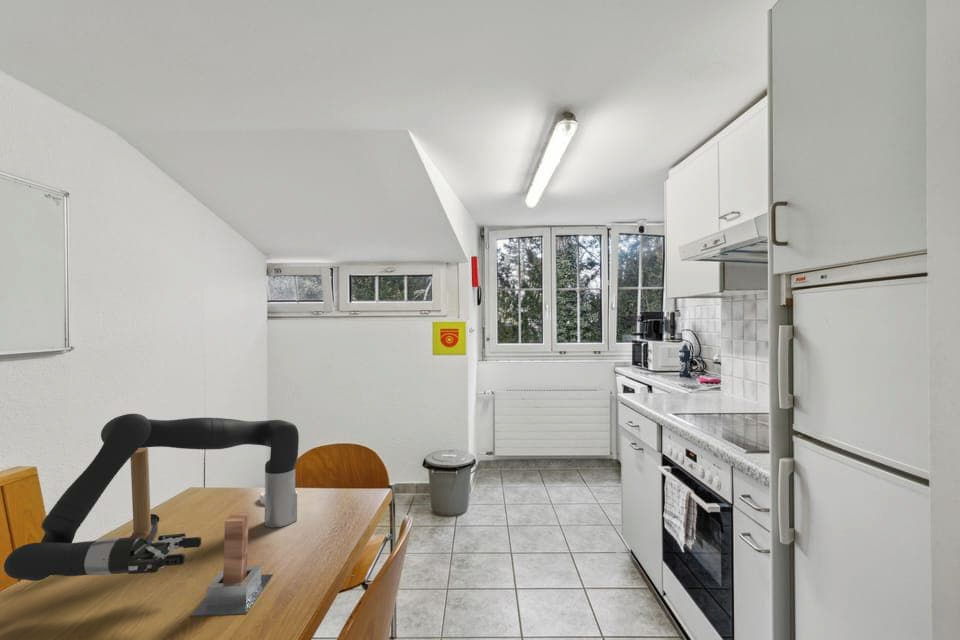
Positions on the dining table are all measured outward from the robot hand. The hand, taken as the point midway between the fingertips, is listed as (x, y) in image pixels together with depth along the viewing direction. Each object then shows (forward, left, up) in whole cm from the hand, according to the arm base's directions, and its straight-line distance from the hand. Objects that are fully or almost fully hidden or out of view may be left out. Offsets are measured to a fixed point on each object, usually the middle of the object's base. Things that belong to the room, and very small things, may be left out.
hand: (193, 550), depth 108 cm
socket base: (-8, +5, -12) cm, 15 cm away
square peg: (-8, +5, -11) cm, 14 cm away
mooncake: (-36, -53, -12) cm, 65 cm away
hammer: (+6, -41, -12) cm, 43 cm away
